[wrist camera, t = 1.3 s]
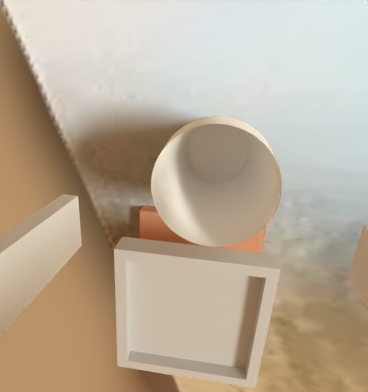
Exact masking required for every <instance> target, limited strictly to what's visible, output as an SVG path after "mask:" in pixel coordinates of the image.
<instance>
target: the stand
mask: <svg viewBox="0 0 368 392" xmlns="http://www.w3.org/2000/svg"><path fill="white" fill-rule="evenodd" d="M265 231H266V226H265V227H264V228H263V229H262V230H261V231H260V232H258V233H257V234H256V235H254V236H253V237H251V238H249V239H247V240H245V241H243V242H241V243H238V244H234V245H230V246H223V247H210V246H203V245H199V244H196V243H193V242H190V241H188V240H186V239H184V238H182V237H180V236H179V235H177V234H176V233H175V232H173V231H172V230H171V229H170V228H169V227H168V226H167V225H166V224H165V223H164V221H163V220H162V219H161V217H160V215H159V214H158V212H157V210H156V207H151V206H143V207H142V208H141V210H140V239H139V238H131V237H122V238H121V239H120V241H119V242H118V243H117V245H116V246H115V248H114V268H115V299H116V327H117V328H116V329H117V358H118V366H121V367H127V368H133V369H139V370H146V371H151V372H157V373H164V374H169V375H176V376H182V377H188V378H194V379H200V380H206V381H212V382H218V383H224V384H230V385H236V386H242V387H249V388H255V387H256V382H257V378H258V373H259V368H260V364H261V359H262V354H263V350H264V345H265V341H266V336H267V331H268V327H269V322H270V317H271V313H272V308H273V304H274V299H275V294H276V290H277V285H278V280H279V276H280V271H281V268H280V265H279V262H278V259H277V256H276V255H274V254H266V253H261V252H262V247H263V242H264V236H265Z"/></svg>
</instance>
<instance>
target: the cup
mask: <svg viewBox="0 0 368 392" xmlns="http://www.w3.org/2000/svg"><path fill="white" fill-rule="evenodd" d="M151 193H152V198H153V202H154V205H155V207H156V210H157V212H158V214H159V215H160V217H161V219H162V220H163V221H164V223H165V224H166V225H167V226H168V227H169V228H170V229H171V230H172V231H173V232H175V233H176V234H177V235H179V236H180V237H182V238H184V239H186V240H188V241H190V242H193V243H196V244H199V245H203V246H210V247H223V246H230V245H234V244H238V243H241V242H243V241H245V240H247V239H249V238H251V237H253V236H254V235H256V234H257V233H258V232H260V231H261V230H262V229H263V228H264V227H265V226H266V225H267V224H268V222H269V221H270V220H271V218H272V217H273V215H274V213H275V211H276V209H277V207H278V204H279V201H280V196H281V175H280V171H279V167H278V164H277V162H276V160H275V157H274V155H273V152H272V150H271V148H270V146H269V144H268V143H267V141H266V140H265V139H264V137H263V136H262V135H261V134H260V133H259V132H257V131H256V130H255V129H254V128H252V127H251V126H249V125H248V124H246V123H244V122H242V121H239V120H236V119H233V118H229V117H220V116H213V117H206V118H201V119H198V120H195V121H193V122H191V123H189V124H187V125H185V126H183V127H182V128H181V129H179V130H178V131H177V132H176V133H175V134H174V135H173V136H172V137H171V138H170V139H169V140H168V142H167V143H166V145H165V146H164V148H163V150H162V152H161V153H160V155H159V156H158V158H157V160H156V163H155V165H154V168H153V172H152V178H151Z"/></svg>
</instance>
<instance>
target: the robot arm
mask: <svg viewBox="0 0 368 392" xmlns="http://www.w3.org/2000/svg"><path fill="white" fill-rule="evenodd" d="M81 246H82V240H81V227H80V215H79V204H78V196H73V195H64V194H63V195H61V196H60V197H58V198H57V199H55V200H54V201H52V202H51V203H49V204H48V205H46V206H45V207H43V208H42V209H40V210H39V211H37V212H35V213H34V214H32V215H31V216H29V217H28V218H26V219H25V220H23V221H22V222H20V223H19V224H17V225H16V226H14V227H13V228H11V229H10V230H8V231H7V232H5V233H4V234H2V235H1V236H0V336H1V335H2V334H3V333H4V332H5V331H6V330H7V328H8V327H9V326H10V325H11V324H12V323H13V322H14V321H15V320H16V318H17V317H18V316H19V315H20V314H21V313H22V312H23V311H24V310H25V308H26V307H27V306H28V305H29V304H30V303H31V302H32V301H33V300H34V298H35V297H36V296H37V295H38V294H39V293H40V292H41V291H42V290H43V288H44V287H45V286H46V285H47V284H48V283H49V282H50V281H51V280H52V278H53V277H54V276H55V275H56V274H57V273H58V272H59V271H60V269H61V268H62V267H63V266H64V265H65V264H66V263H67V262H68V261H69V260H70V258H71V257H72V256H73V255H74V254H75V253H76V252H77V251H78V250H79V248H80V247H81ZM348 279H349V281H350V282H351V284H352V285H353V287H354V289H355V290H356V292H357V293H358V295H359V296H360V298H361V299H362V301H363V302H364V304H365V305H366V307H367V308H368V226H364V227H363V230H362V233H361V236H360V239H359V243H358V246H357V249H356V252H355V255H354V258H353V262H352V265H351V268H350V271H349V274H348Z"/></svg>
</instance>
